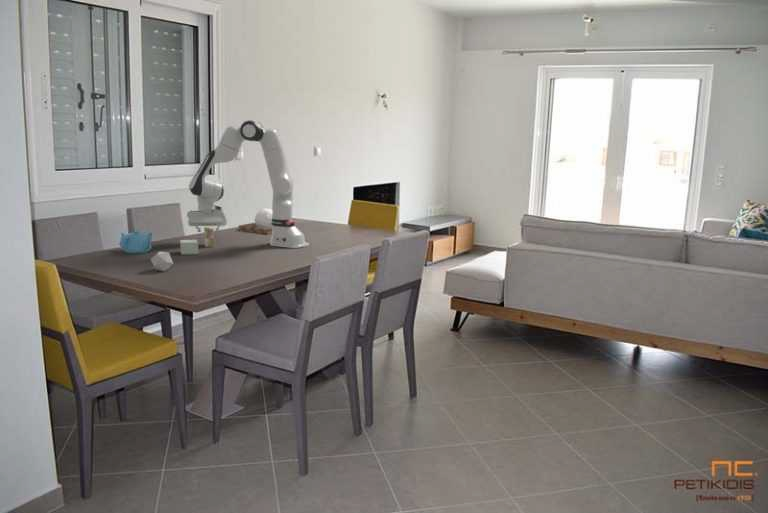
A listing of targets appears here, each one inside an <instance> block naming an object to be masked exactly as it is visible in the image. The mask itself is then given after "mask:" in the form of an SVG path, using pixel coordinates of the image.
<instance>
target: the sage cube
mask: <svg viewBox="0 0 768 513" xmlns="http://www.w3.org/2000/svg"><path fill="white" fill-rule="evenodd" d="M179 245H180V246H179V249H180V254H181V255H199V242H198V240H197V239H181V240H179Z"/></svg>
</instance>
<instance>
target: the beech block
mask: <svg viewBox="0 0 768 513" xmlns="http://www.w3.org/2000/svg"><path fill="white" fill-rule="evenodd" d="M203 228H204V229H203V230H204V232H203V236H204V247H205V248H214V247H215V239H214V238H215V235H214V234H215V230H214V226H203Z"/></svg>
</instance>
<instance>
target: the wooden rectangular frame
mask: <svg viewBox="0 0 768 513" xmlns="http://www.w3.org/2000/svg"><path fill="white" fill-rule="evenodd" d="M237 228H238V229H237V230H238V231H240V232H241V231H243V232H250V233H257V234H263V235H271V233H272V228H270V229H266V228H259V227H257V226H256V223H255V222H251V223H249V222H248V223H244V224H238V225H237Z"/></svg>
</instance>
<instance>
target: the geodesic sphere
mask: <svg viewBox="0 0 768 513" xmlns="http://www.w3.org/2000/svg"><path fill="white" fill-rule="evenodd" d="M271 221H272V209H270V208H268V207H265V208H262V209H259V210H258V211H257V212H256V214H255V218H254V223H256V226H257V227H259V228H266V229H270V228H272V222H271Z"/></svg>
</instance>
